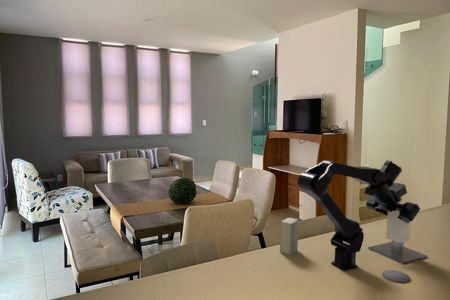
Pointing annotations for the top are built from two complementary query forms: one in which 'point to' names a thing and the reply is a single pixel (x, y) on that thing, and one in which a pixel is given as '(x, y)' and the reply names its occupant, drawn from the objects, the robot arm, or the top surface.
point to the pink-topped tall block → (397, 228)
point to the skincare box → (289, 236)
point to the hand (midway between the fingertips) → (401, 220)
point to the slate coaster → (396, 276)
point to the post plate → (397, 252)
